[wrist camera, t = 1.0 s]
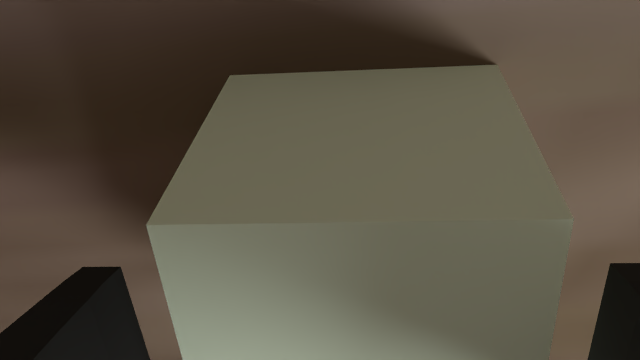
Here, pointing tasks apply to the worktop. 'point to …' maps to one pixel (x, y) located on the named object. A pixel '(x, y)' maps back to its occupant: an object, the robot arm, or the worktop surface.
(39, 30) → the worktop surface
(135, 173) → the worktop surface
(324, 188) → the sage block
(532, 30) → the worktop surface
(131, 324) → the robot arm
